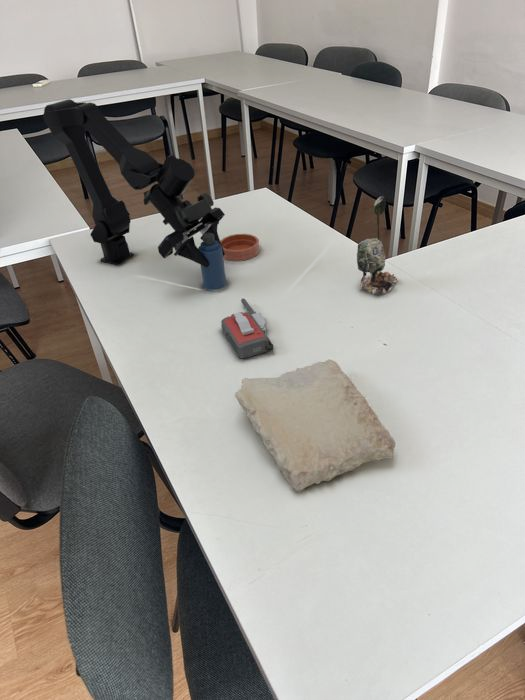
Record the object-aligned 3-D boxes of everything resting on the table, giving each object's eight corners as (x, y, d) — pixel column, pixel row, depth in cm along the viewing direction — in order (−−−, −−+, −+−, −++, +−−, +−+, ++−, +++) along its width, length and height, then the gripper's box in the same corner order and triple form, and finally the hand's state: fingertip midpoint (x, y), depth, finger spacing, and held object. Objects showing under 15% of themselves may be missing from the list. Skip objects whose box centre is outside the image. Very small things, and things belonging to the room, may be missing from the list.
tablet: (273, 505, 75) (401, 459, 77) (264, 470, 70) (400, 423, 73) (233, 401, 94) (337, 367, 97) (224, 369, 90) (333, 334, 92)
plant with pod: (344, 287, 120) (346, 203, 108) (382, 272, 125) (388, 189, 113) (367, 302, 115) (372, 214, 103) (406, 285, 119) (415, 200, 107)
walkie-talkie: (283, 351, 102) (247, 303, 118) (282, 332, 100) (245, 286, 115) (241, 364, 100) (210, 313, 115) (239, 345, 98) (207, 296, 113)
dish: (218, 263, 134) (216, 252, 132) (222, 245, 143) (221, 234, 141) (258, 261, 134) (257, 250, 132) (260, 243, 142) (259, 232, 140)
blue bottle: (200, 284, 126) (192, 234, 118) (219, 277, 128) (213, 227, 120) (210, 293, 122) (202, 242, 114) (230, 286, 124) (224, 235, 117)
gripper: (157, 201, 107) (207, 260, 108) (213, 172, 119) (257, 226, 120) (138, 230, 115) (184, 285, 117) (191, 200, 127) (233, 251, 129)
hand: (216, 260), depth 120 cm, fingers closed on blue bottle, 5 cm apart
